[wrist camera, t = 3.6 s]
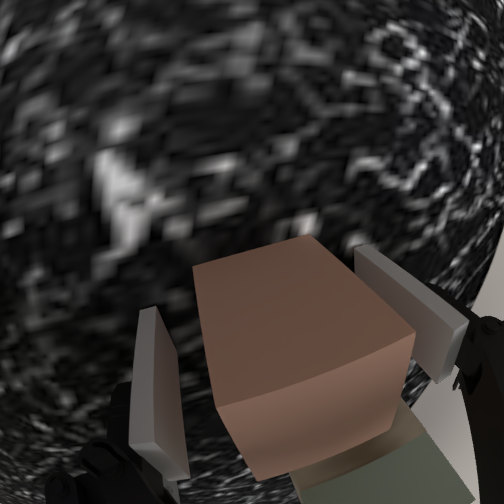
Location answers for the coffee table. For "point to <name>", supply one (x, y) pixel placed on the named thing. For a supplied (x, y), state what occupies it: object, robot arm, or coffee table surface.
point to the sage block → (397, 480)
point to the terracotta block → (299, 354)
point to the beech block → (361, 451)
